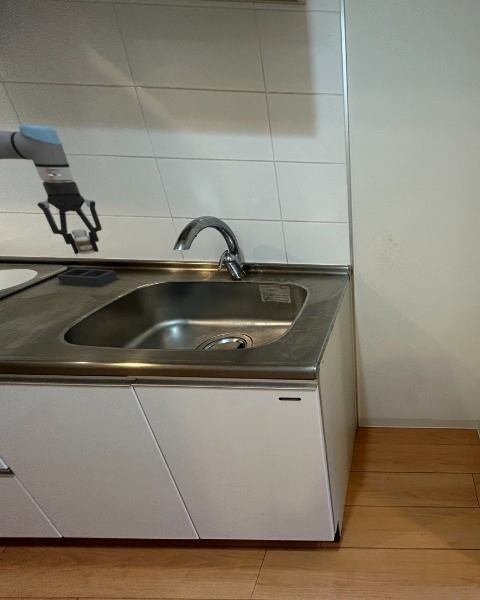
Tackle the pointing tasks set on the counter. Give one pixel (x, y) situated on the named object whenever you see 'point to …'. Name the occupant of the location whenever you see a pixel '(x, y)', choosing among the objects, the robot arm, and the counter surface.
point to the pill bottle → (82, 242)
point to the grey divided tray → (87, 277)
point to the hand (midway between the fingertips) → (87, 251)
